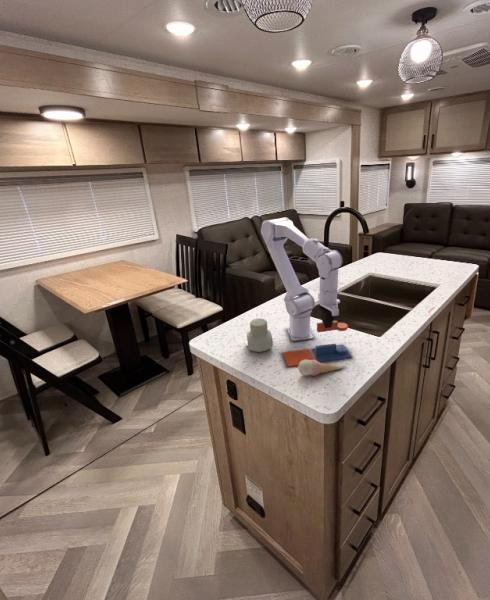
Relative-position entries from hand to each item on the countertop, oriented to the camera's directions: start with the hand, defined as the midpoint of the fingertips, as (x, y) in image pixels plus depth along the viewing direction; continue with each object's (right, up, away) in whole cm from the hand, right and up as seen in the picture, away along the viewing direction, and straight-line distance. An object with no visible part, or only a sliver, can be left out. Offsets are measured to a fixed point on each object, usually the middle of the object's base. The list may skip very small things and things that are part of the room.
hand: (327, 326), depth 108 cm
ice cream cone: (-4, -13, -10) cm, 17 cm away
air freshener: (-23, -8, +4) cm, 25 cm away
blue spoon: (+1, -9, -1) cm, 9 cm away
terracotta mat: (-10, -10, -3) cm, 15 cm away
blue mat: (+1, -9, -1) cm, 9 cm away
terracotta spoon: (+2, -1, +1) cm, 2 cm away
